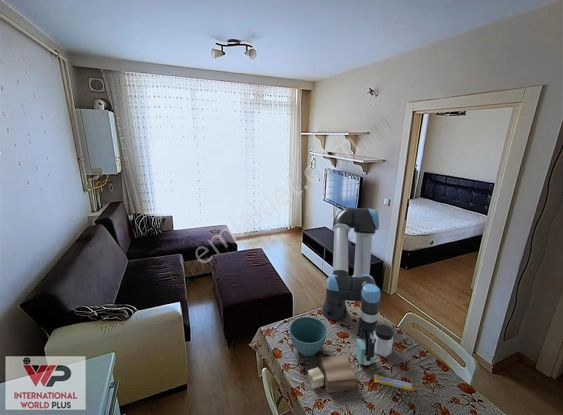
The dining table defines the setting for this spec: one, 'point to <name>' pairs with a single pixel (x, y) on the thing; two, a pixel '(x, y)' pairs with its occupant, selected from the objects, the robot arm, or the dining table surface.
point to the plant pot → (308, 335)
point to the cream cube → (315, 378)
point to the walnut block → (338, 373)
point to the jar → (383, 340)
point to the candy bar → (394, 383)
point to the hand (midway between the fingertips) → (363, 358)
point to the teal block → (361, 351)
